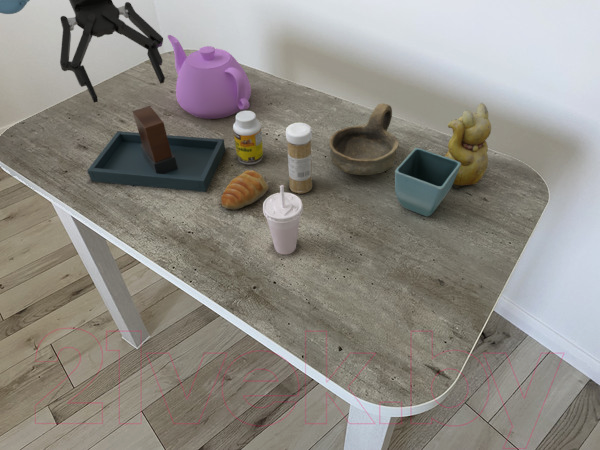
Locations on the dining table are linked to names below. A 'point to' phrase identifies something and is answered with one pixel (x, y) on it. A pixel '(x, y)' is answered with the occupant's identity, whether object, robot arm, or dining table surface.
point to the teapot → (210, 82)
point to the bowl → (365, 145)
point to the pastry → (244, 190)
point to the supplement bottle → (248, 138)
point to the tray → (136, 170)
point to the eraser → (154, 141)
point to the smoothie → (283, 219)
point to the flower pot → (424, 180)
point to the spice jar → (299, 157)
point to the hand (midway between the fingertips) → (130, 90)
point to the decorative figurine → (470, 145)
